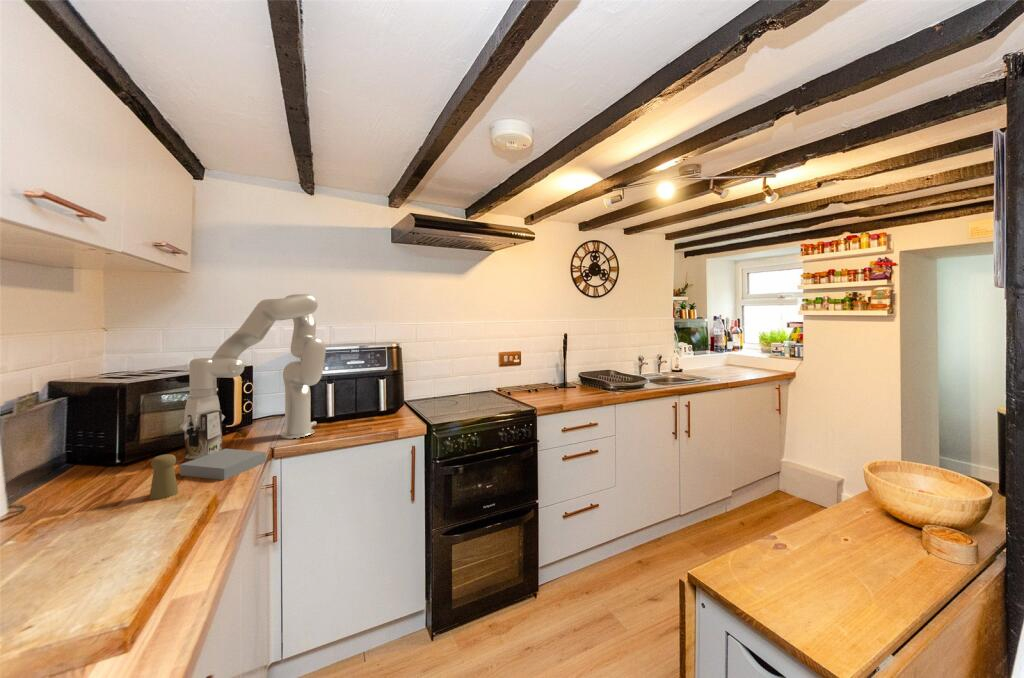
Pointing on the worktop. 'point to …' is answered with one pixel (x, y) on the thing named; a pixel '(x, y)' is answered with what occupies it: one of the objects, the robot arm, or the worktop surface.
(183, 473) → the podium
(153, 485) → the olive pepper mill
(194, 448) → the coffee box
